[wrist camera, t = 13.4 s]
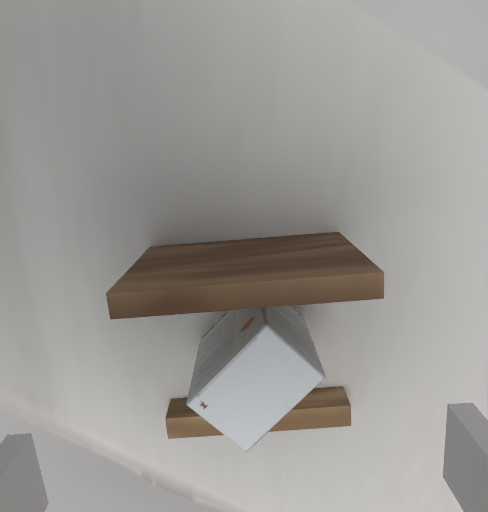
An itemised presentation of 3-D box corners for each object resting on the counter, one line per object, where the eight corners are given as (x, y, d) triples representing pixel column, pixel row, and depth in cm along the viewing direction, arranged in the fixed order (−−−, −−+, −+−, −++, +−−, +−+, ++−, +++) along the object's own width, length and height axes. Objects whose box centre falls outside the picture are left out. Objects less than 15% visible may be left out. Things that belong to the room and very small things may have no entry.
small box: (244, 376, 40) (244, 456, 29) (198, 338, 39) (182, 407, 28) (306, 317, 38) (329, 379, 28) (260, 275, 37) (266, 324, 27)
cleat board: (150, 246, 36) (106, 293, 25) (338, 232, 36) (383, 272, 25) (173, 417, 40) (145, 526, 29) (343, 405, 40) (383, 510, 29)
